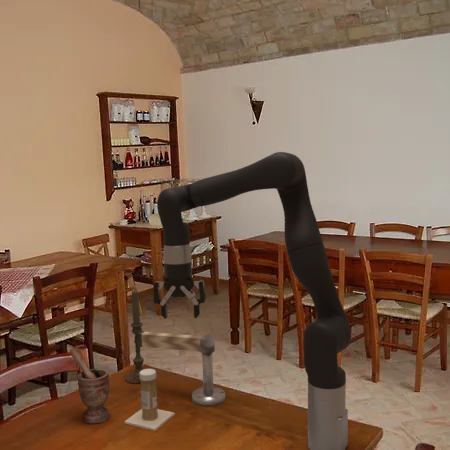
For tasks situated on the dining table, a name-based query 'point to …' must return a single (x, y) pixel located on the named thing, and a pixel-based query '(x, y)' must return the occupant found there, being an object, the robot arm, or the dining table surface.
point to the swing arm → (176, 341)
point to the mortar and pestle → (92, 389)
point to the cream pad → (149, 424)
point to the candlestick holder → (136, 341)
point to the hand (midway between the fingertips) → (180, 317)
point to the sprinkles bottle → (148, 394)
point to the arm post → (208, 386)
